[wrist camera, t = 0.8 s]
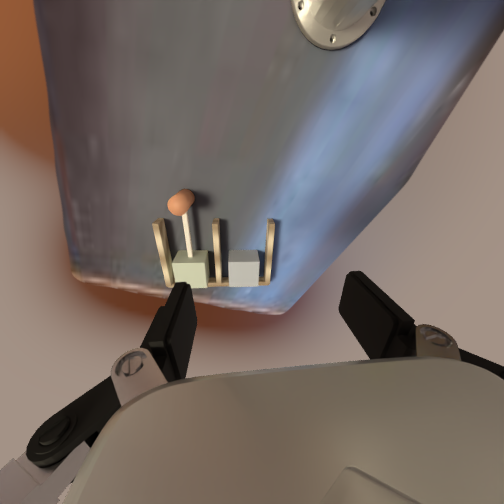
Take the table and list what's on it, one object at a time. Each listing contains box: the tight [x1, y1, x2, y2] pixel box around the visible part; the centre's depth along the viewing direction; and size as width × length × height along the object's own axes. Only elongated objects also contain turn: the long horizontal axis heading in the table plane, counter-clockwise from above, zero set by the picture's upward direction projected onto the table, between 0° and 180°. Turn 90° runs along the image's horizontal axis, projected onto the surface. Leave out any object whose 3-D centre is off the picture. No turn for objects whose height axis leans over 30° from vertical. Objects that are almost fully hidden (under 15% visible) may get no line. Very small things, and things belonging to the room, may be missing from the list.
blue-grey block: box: [228, 250, 260, 287], centre depth 41 cm, size 6×6×5 cm
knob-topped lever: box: [168, 189, 210, 288], centre depth 37 cm, size 18×6×6 cm, turn 178°
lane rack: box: [152, 218, 275, 287], centre depth 40 cm, size 15×22×3 cm
